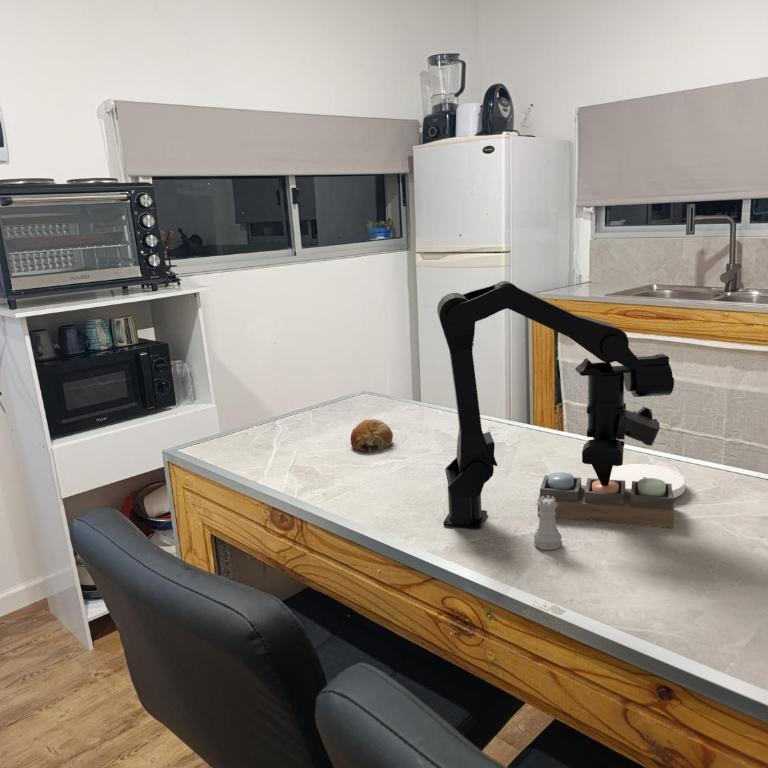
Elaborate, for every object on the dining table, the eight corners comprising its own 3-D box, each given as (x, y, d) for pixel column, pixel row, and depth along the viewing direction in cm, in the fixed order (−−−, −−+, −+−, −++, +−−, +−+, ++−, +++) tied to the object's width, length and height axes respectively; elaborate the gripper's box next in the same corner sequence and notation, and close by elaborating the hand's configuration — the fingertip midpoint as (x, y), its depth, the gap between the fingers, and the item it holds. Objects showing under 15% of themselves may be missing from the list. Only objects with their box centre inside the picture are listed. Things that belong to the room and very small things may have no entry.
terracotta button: (618, 501, 120) (618, 490, 119) (591, 499, 121) (591, 488, 121) (619, 491, 124) (619, 480, 123) (592, 489, 125) (593, 479, 125)
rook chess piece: (556, 553, 110) (556, 506, 108) (529, 548, 113) (528, 501, 111) (565, 541, 114) (565, 495, 112) (539, 536, 116) (538, 491, 114)
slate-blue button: (572, 493, 122) (572, 482, 122) (546, 491, 124) (546, 480, 123) (574, 483, 126) (574, 473, 126) (549, 481, 128) (549, 471, 127)
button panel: (673, 528, 116) (674, 501, 115) (537, 516, 123) (537, 490, 122) (672, 507, 123) (673, 482, 122) (544, 497, 131) (543, 473, 130)
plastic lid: (666, 512, 122) (667, 499, 121) (591, 494, 131) (591, 481, 131) (696, 486, 132) (697, 473, 131) (624, 470, 141) (624, 458, 141)
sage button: (665, 500, 117) (666, 489, 116) (637, 498, 118) (637, 487, 118) (665, 489, 121) (665, 479, 120) (637, 488, 122) (638, 477, 122)
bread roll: (398, 457, 167) (403, 424, 168) (375, 453, 158) (381, 418, 159) (363, 452, 172) (368, 420, 173) (339, 447, 164) (345, 413, 165)
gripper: (657, 417, 107) (655, 512, 111) (656, 385, 124) (654, 468, 128) (581, 414, 111) (581, 506, 115) (590, 383, 128) (590, 464, 132)
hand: (604, 485), depth 122 cm, fingers closed, pressing on terracotta button
